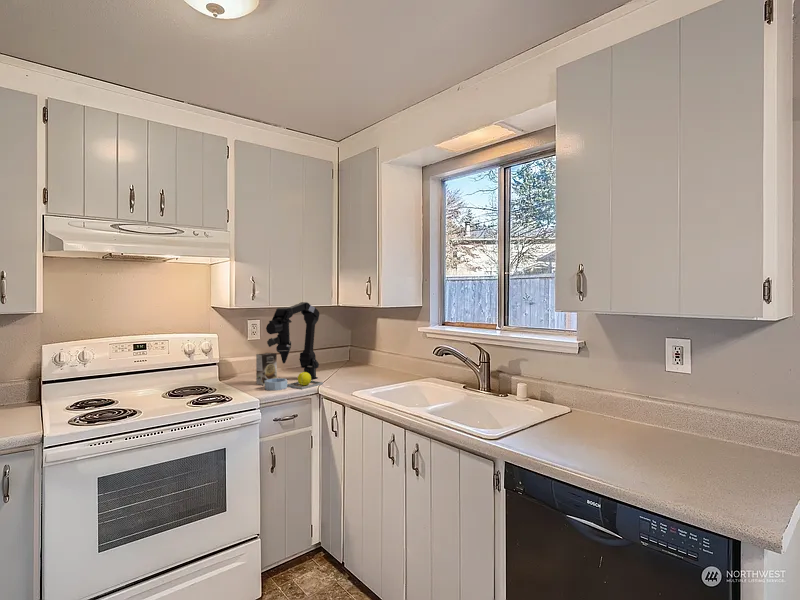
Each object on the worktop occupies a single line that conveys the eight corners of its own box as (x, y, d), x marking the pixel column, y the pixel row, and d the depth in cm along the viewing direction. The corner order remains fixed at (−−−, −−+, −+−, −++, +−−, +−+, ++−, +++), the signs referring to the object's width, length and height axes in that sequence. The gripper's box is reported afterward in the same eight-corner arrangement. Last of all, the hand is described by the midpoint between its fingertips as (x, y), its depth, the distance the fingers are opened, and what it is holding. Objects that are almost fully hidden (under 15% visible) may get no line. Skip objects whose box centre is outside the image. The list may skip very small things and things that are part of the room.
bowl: (277, 384, 246) (277, 377, 245) (291, 387, 239) (291, 379, 239) (260, 388, 237) (260, 380, 237) (274, 391, 230) (274, 383, 230)
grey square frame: (306, 381, 254) (306, 379, 254) (323, 384, 246) (323, 382, 246) (285, 386, 242) (285, 384, 242) (301, 389, 234) (301, 387, 234)
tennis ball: (295, 385, 245) (295, 371, 245) (308, 383, 249) (307, 370, 249) (300, 387, 239) (300, 373, 239) (313, 385, 243) (313, 372, 243)
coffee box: (263, 385, 245) (262, 355, 244) (256, 384, 249) (255, 354, 248) (277, 382, 252) (277, 353, 251) (270, 381, 256) (269, 352, 255)
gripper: (269, 330, 248) (270, 359, 249) (265, 334, 230) (266, 365, 231) (291, 329, 250) (291, 358, 251) (288, 333, 232) (289, 364, 233)
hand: (284, 361), depth 241 cm, fingers open, 9 cm apart
